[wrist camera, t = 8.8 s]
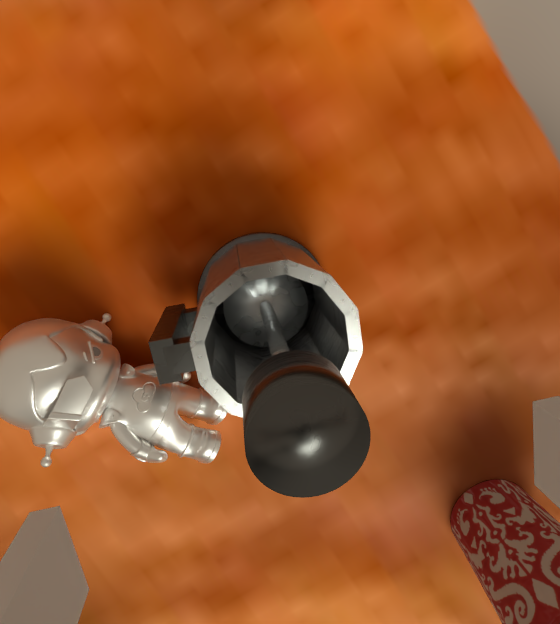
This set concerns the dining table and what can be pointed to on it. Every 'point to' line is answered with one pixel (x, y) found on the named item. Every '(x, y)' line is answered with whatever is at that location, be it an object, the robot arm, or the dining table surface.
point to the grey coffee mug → (233, 351)
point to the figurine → (98, 393)
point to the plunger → (294, 397)
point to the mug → (511, 550)
